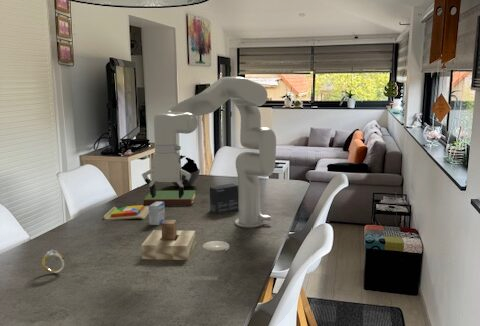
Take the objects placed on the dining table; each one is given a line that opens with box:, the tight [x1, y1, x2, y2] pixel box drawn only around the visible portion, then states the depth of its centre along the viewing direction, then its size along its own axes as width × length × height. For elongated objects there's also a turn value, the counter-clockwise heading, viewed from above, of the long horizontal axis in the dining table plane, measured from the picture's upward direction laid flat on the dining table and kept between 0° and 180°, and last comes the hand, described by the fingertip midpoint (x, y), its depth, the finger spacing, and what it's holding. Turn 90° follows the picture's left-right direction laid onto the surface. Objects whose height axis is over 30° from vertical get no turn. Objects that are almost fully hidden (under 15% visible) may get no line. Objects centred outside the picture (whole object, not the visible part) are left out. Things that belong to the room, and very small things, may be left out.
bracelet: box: [41, 249, 66, 274], centre depth 145 cm, size 7×3×8 cm, turn 86°
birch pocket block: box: [140, 229, 197, 261], centre depth 161 cm, size 16×16×6 cm
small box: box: [209, 182, 239, 214], centre depth 216 cm, size 13×7×12 cm, turn 123°
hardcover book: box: [143, 189, 196, 207], centre depth 234 cm, size 25×19×4 cm
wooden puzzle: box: [103, 204, 149, 221], centre depth 211 cm, size 18×19×4 cm
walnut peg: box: [160, 219, 178, 241], centre depth 161 cm, size 4×4×11 cm
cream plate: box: [202, 240, 230, 252], centre depth 166 cm, size 10×10×1 cm
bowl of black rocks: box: [170, 154, 201, 188], centre depth 264 cm, size 20×20×19 cm
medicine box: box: [148, 202, 166, 226], centre depth 197 cm, size 8×4×9 cm, turn 168°
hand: (167, 197), depth 158 cm, fingers open, 9 cm apart
